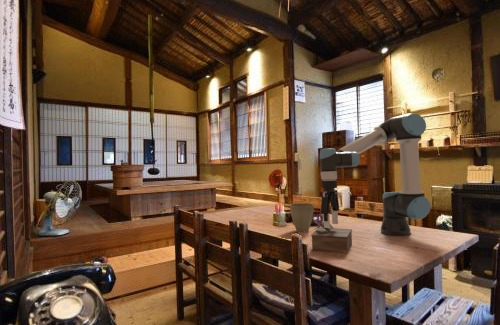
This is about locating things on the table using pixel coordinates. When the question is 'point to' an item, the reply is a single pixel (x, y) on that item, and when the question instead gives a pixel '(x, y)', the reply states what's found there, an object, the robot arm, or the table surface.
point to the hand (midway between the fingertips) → (331, 225)
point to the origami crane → (323, 225)
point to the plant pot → (302, 216)
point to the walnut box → (332, 240)
